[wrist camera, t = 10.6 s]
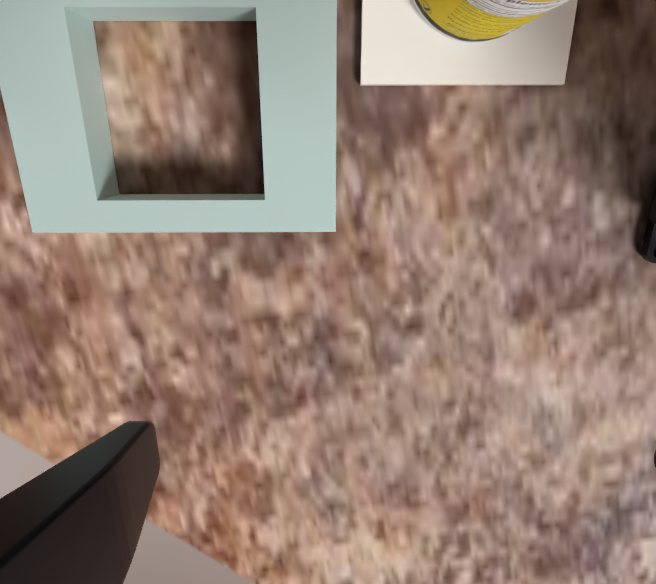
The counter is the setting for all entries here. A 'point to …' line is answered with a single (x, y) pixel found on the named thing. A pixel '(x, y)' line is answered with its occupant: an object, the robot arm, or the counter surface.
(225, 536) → the counter surface
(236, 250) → the counter surface
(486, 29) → the supplement bottle
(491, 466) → the counter surface
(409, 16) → the white square tile
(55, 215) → the holder block
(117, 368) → the counter surface
